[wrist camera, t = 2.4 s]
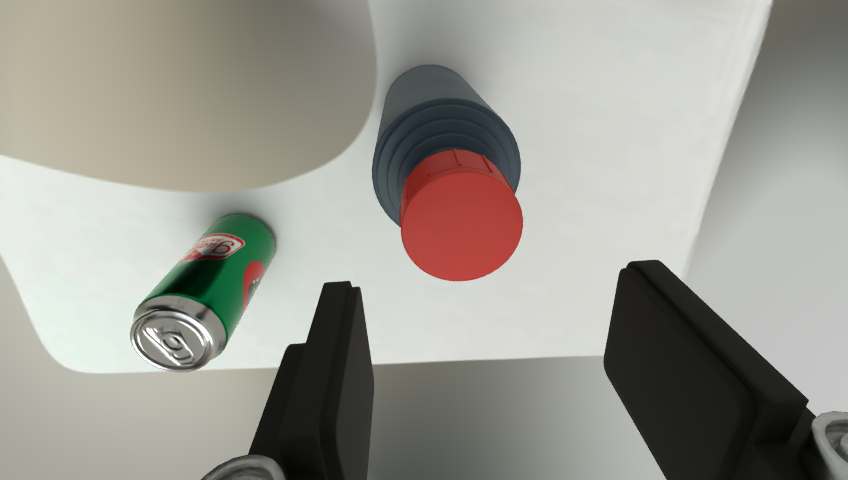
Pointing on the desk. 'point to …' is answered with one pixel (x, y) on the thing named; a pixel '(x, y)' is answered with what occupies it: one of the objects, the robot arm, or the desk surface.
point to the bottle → (435, 130)
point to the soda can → (203, 296)
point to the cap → (459, 216)
